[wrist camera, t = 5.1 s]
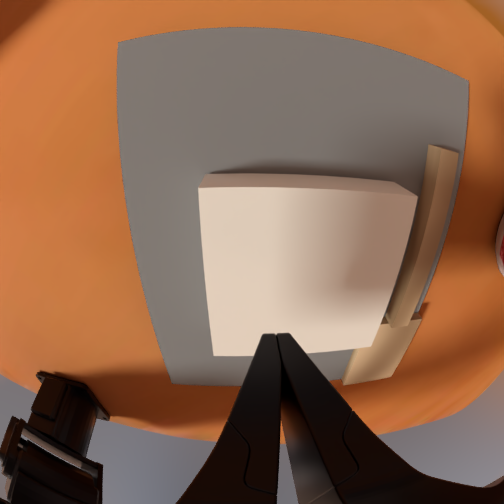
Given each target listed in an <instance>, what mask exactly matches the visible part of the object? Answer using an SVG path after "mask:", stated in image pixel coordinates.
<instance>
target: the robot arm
mask: <svg viewBox="0 0 504 504" xmlns="http://www.w3.org/2000/svg"><path fill="white" fill-rule="evenodd" d="M36 377H37V378H38V379H39V381H40V382H41V383H42V385H41V387H40V389H39V391H38V394H37V396H36V398H35V400H34V403H33V405H32V407H31V411H32V413H31V416H30V418H29V421H28V423H26V422H25V421H24V420H23V419H20V420H19V419H18V418H16V417H14V416H12V417H11V420H10V422H9V425H8V427H7V430H6V433H5V435H4V439H3V441H2V445H1V448H0V460H1V462H2V465H1V466H2V467H3V468H2V474H3V475H4V476H6V477H7V481H6V485H5V490H6V495H7V499H8V501H6V500H4V499H2V498H0V504H102V482H103V481H102V480H103V479H102V478H103V465H102V464H100V463H97V462H94V461H92V460H89V459H87V458H86V454H87V451H88V447H89V443H90V440H91V436H92V432H93V429H94V425H95V422H96V419H101V420H106V421H109V419H110V416H109V415H108V414H107V412H106V411H105V410H104V409H103V407H102V406H101V405H100V403H99V402H98V401H97V399H96V398H95V397H94V395H93V394H92V393H91V391H90V390H89V388H88V387H87V386H86V385H84V384H81V383H77V382H73V381H69V380H65V379H61V378H58V377H54V376H51V375H47V374H44V373H40V372H37V374H36ZM281 421H282V426H283V431H284V436H285V441H286V446H287V450H288V455H289V460H290V464H291V469H292V474H293V479H294V484H295V488H296V494H297V498H298V503H299V504H504V476H502V477H501V478H499V479H497V480H496V481H494V482H492V483H490V484H488V485H487V486H485V487H475V486H469V485H464V484H460V483H455V482H451V481H446V480H442V479H438V478H435V477H431V476H428V475H425V474H423V473H421V472H419V471H417V470H416V469H414V468H413V467H412V466H410V465H409V464H408V463H407V462H406V461H404V460H403V459H402V458H401V457H400V456H399V455H397V454H396V453H395V452H394V451H393V450H392V449H391V448H389V447H388V446H387V445H386V444H385V443H384V442H383V441H381V440H380V439H379V438H378V437H377V436H376V435H375V434H374V433H373V432H372V431H371V430H370V429H369V428H368V427H367V425H366V424H365V423H364V422H363V421H362V420H361V419H360V418H359V416H358V415H357V414H356V413H355V412H354V411H352V408H351V407H350V406H349V405H348V403H347V402H346V401H345V400H344V399H343V397H342V396H341V395H340V394H339V393H338V391H337V390H336V389H335V388H334V387H333V385H332V384H331V383H330V382H329V381H328V379H327V378H326V377H325V376H324V375H323V373H322V372H321V371H320V370H319V368H318V367H317V366H316V365H315V364H314V362H313V361H312V360H311V359H310V357H309V356H308V355H307V354H306V352H305V351H304V350H303V349H302V348H301V346H300V345H299V344H298V343H297V341H296V340H295V339H294V338H293V336H292V335H291V334H290V333H277V334H275V333H264V334H262V336H261V338H260V341H259V343H258V346H257V349H256V351H255V354H254V356H253V359H252V361H251V364H250V366H249V369H248V371H247V374H246V376H245V379H244V381H243V384H242V386H241V388H240V391H239V393H238V396H237V398H236V401H235V403H234V405H233V408H232V410H231V412H230V415H229V417H228V420H227V422H226V424H225V426H224V428H223V431H222V433H221V435H220V437H219V439H218V441H217V443H216V445H215V447H214V449H213V450H212V452H211V454H210V456H209V457H208V459H207V461H206V462H205V464H204V465H203V467H202V468H201V470H200V471H199V473H198V474H197V475H196V477H195V478H194V480H193V481H192V483H191V484H190V485H189V487H188V488H187V490H186V491H185V492H184V494H183V495H182V496H181V498H180V499H179V500H178V501H177V502H176V504H277V496H276V495H277V489H278V471H279V452H280V451H279V450H280V426H281ZM21 434H23V435H24V436H26V437H27V438H29V439H30V440H32V441H33V442H35V443H36V444H38V445H40V446H41V447H43V448H45V449H46V450H48V451H50V452H52V453H53V454H55V455H57V456H59V457H61V458H62V459H64V460H66V461H68V462H70V463H72V464H74V465H76V466H78V467H80V468H81V469H79V468H77V467H75V466H73V465H71V464H69V463H67V462H65V461H64V460H62V459H59V458H58V457H56V456H54V455H52V454H51V453H49V452H47V451H45V450H44V449H42V448H40V447H39V446H37V445H36V444H34V443H32V442H31V441H29V440H27V441H26V440H24V439H23V438H21Z"/></svg>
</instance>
